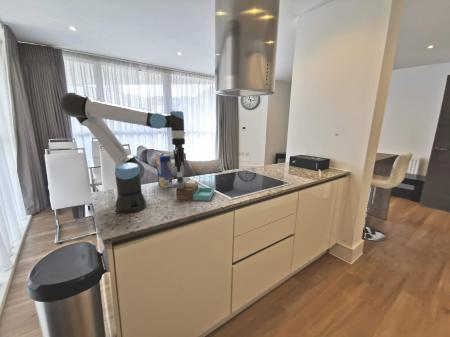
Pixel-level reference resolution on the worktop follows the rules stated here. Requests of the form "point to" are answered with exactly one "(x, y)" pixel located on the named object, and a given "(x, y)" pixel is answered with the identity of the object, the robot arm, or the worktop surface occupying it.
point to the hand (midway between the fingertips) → (180, 175)
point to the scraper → (180, 180)
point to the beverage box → (164, 170)
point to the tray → (203, 194)
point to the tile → (191, 184)
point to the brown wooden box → (186, 193)
